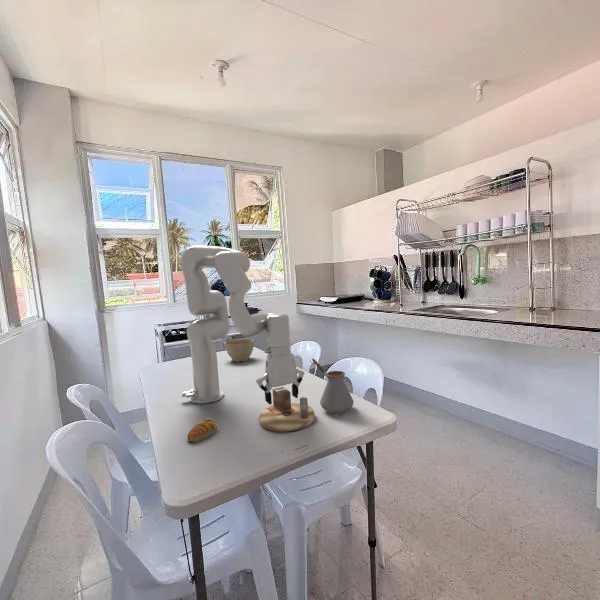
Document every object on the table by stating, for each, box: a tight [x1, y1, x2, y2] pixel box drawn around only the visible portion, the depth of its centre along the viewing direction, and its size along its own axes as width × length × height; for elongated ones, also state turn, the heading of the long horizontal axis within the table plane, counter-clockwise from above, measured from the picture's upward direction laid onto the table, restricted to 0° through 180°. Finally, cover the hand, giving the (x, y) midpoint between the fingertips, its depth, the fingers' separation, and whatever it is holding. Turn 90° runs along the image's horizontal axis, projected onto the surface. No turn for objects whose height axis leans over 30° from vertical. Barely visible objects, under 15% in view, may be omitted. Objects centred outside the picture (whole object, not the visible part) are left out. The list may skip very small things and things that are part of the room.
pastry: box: [186, 418, 219, 443], centre depth 98 cm, size 9×7×4 cm
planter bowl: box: [224, 338, 255, 363], centre depth 185 cm, size 16×16×11 cm
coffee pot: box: [309, 358, 354, 416], centre depth 115 cm, size 21×12×15 cm, turn 28°
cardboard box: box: [272, 386, 292, 412], centre depth 111 cm, size 4×6×6 cm, turn 27°
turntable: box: [258, 396, 315, 433], centre depth 106 cm, size 18×18×8 cm
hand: (282, 399), depth 110 cm, fingers open, 9 cm apart
